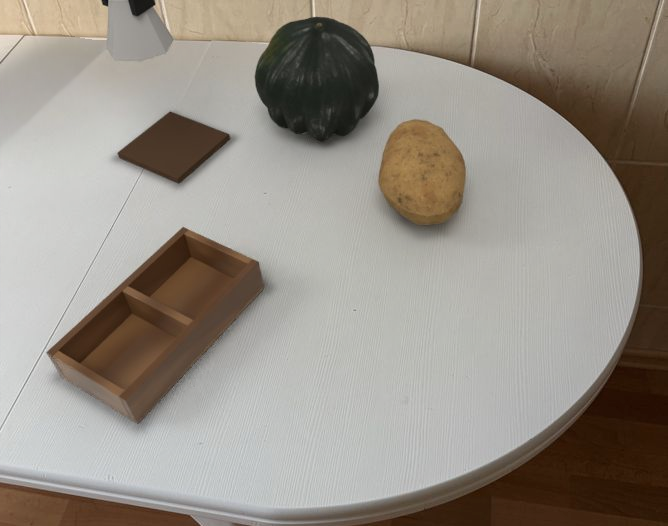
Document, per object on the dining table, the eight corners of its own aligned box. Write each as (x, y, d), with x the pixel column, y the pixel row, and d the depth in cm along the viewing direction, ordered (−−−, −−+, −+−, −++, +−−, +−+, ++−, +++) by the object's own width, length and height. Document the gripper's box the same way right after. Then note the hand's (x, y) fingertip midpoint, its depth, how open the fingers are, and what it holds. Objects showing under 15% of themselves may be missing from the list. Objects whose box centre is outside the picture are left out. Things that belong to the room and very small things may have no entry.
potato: (384, 253, 76) (385, 196, 69) (372, 170, 84) (371, 112, 78) (474, 246, 76) (483, 188, 69) (453, 163, 84) (459, 105, 78)
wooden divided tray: (61, 377, 68) (45, 352, 65) (191, 253, 77) (183, 226, 74) (137, 424, 64) (125, 400, 61) (264, 288, 74) (259, 261, 70)
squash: (294, 32, 94) (254, -18, 79) (401, 53, 90) (379, 5, 76) (268, 138, 96) (223, 108, 81) (372, 163, 92) (345, 136, 78)
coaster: (118, 157, 88) (116, 152, 88) (171, 116, 93) (169, 110, 92) (178, 183, 85) (177, 178, 84) (230, 139, 89) (229, 133, 89)
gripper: (156, -305, 52) (214, 7, 71) (8, -320, 58) (98, -29, 77) (82, -280, 49) (164, 42, 67) (-66, -299, 55) (46, 2, 73)
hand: (129, 4), depth 72 cm, fingers closed on flask, 3 cm apart
